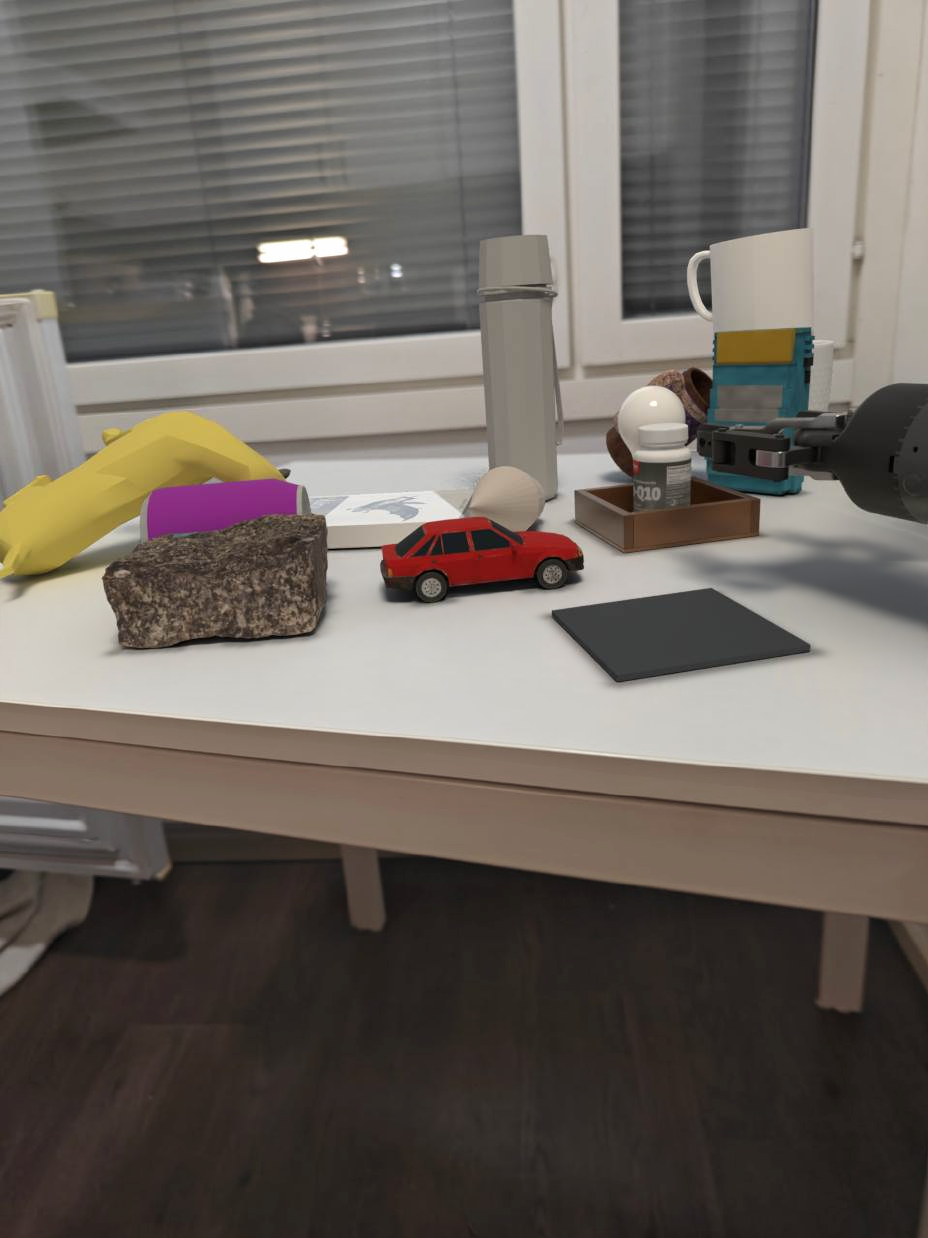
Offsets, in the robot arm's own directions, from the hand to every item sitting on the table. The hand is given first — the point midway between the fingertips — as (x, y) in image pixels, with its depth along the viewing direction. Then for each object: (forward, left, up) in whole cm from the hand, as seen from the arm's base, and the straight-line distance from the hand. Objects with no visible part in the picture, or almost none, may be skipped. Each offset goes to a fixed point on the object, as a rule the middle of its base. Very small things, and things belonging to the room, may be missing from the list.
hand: (751, 432), depth 60 cm
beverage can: (+44, -13, -5) cm, 46 cm away
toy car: (+20, -2, -9) cm, 22 cm away
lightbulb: (-2, -21, -9) cm, 23 cm away
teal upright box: (-12, -21, -9) cm, 26 cm away
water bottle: (+8, -30, -9) cm, 32 cm away
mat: (+12, +12, -9) cm, 19 cm away
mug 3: (-21, -31, -9) cm, 38 cm away
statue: (+51, -30, -6) cm, 60 cm away
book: (+27, -24, -9) cm, 37 cm away
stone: (+39, -1, -1) cm, 39 cm away
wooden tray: (+2, -11, -9) cm, 14 cm away
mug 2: (-18, -31, +4) cm, 36 cm away
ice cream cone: (+15, -14, -9) cm, 22 cm away
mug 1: (-3, -33, -6) cm, 34 cm away
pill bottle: (+2, -11, -9) cm, 14 cm away
